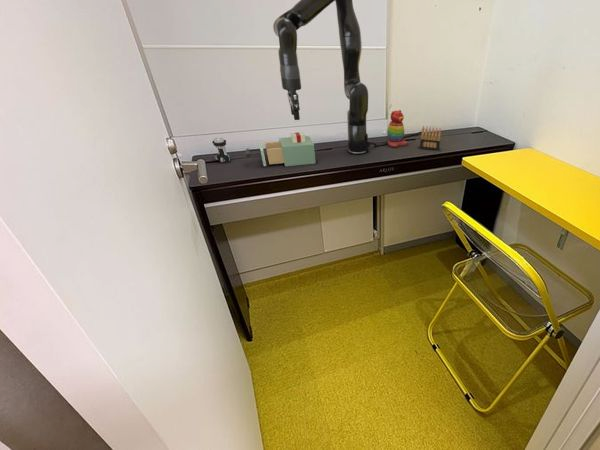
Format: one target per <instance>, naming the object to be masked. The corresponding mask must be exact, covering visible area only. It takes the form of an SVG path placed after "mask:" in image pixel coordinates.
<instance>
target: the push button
mask: <svg viewBox="0 0 600 450" xmlns="http://www.w3.org/2000/svg"><path fill="white" fill-rule="evenodd" d="M212 144H213V146H214V147H216V150H217V155H216V157H215V160H217V161H218V162H222V163H230V161H231V158H230V155H229V154H228V153H227V150H226V149H227V148H226V145H227V140H226V139H224V138H223V137H216V138H214V139H213V140H212Z"/></svg>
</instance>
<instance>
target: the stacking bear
mask: <svg viewBox="0 0 600 450" xmlns="http://www.w3.org/2000/svg"><path fill="white" fill-rule="evenodd" d="M404 118H405V115H404V114H403V112H402V110H401V109H399V110H393V111H391V113H390V122H389V124H388V125H387V130H386V131H387V132H386V134H387V140H386V141H387V142H388V144H387V146H389V147H391V148H398V147H402V146H403V147H405V146H407V145H408V142H407V141H406V139H405V140H404V138H403V137H404V136H405V125H404V123H403V121H404ZM387 142H386V143H387Z"/></svg>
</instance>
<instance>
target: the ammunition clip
mask: <svg viewBox="0 0 600 450" xmlns="http://www.w3.org/2000/svg"><path fill="white" fill-rule="evenodd" d="M421 132H422V133H420V141H419V142H420V143H419V149H422V150H423V149H424V150H431V151H440V144H441V137H442V136H441V135H442V128H441V127H439V129H438V127H436V128H435V126H433V127H431V126H429V127H428V126H426V127H425V126H424V125H423V126H422V128H421Z"/></svg>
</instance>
